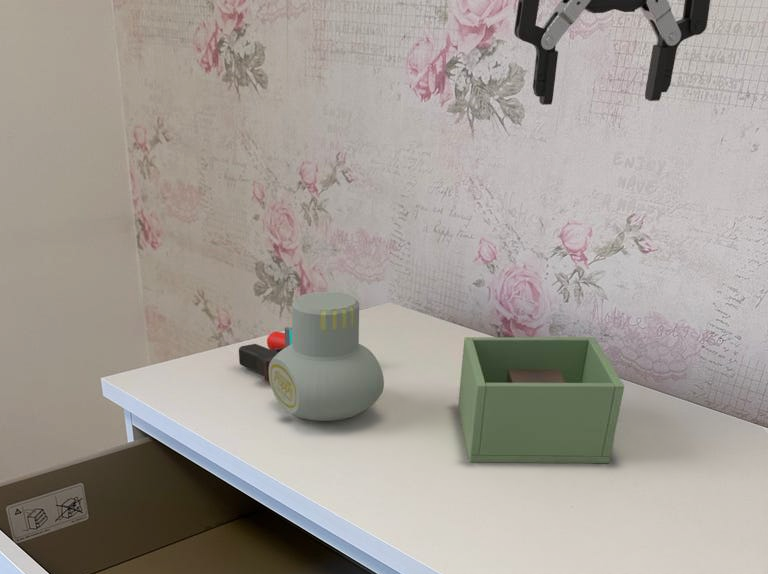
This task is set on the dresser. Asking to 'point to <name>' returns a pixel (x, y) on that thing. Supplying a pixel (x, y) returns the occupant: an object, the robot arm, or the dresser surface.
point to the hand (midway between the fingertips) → (598, 101)
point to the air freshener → (325, 361)
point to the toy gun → (264, 352)
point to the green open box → (538, 401)
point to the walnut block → (534, 376)
